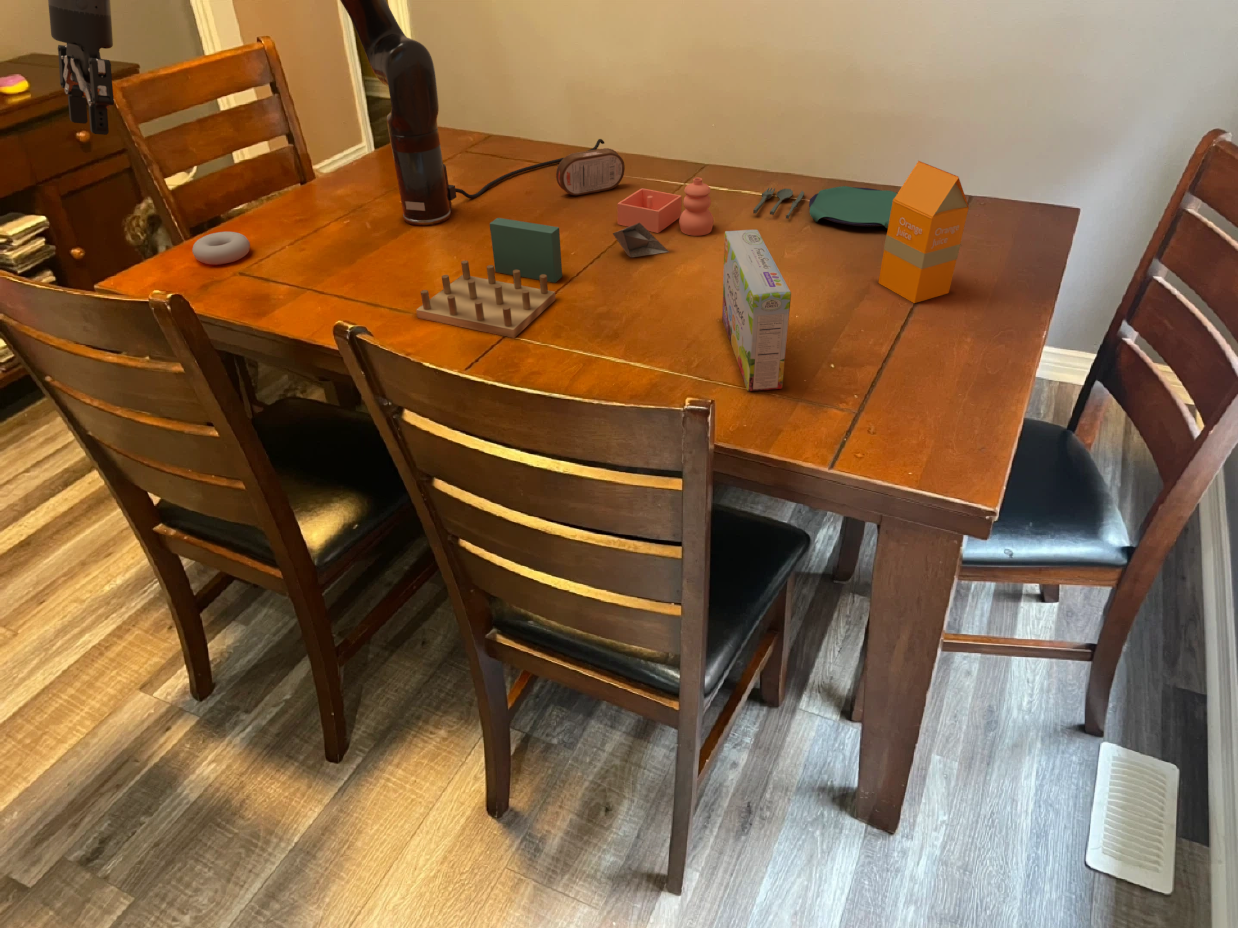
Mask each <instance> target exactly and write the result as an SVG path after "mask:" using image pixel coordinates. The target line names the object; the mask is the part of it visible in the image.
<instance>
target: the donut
mask: <svg viewBox="0 0 1238 928" xmlns="http://www.w3.org/2000/svg"><path fill="white" fill-rule="evenodd" d="M250 248H251V242H250V241H249V239H248V238H247V237H246V236H245V235H244V234H242V233H239V232H235V231H218V232H213V233H210V234H206V235H204V236H202V237H200V238H198V239H197V240H196V241H195V242H194V244H193V245H192V249H191V252H192V254H193V256H194V258H195V259H196V260H197V261H198V262H201V263H202V264H204V265H213V266H214V265H217V266H219V265H226V264H230V263H233V262H236V261H239V260H241V259H242V258H244V257H246V255H248V253H249V252H250V250H251V249H250Z"/></svg>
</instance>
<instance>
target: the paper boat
mask: <svg viewBox="0 0 1238 928" xmlns="http://www.w3.org/2000/svg"><path fill="white" fill-rule="evenodd" d="M612 235H613V236H614V238H615V240H616V241H617V242H618V243H619V245H620V246H621V248H622V249H623V251H624V252H625V254H626V255H627V256H628V257H629V258H639V257H645V256H651V255H658V254H665V253H670V251H669V250H668V249H667V248H666V247H665V246H664V245H663V244H662V242H660V241H659V240H658V239H657V238H656V237H655V236H654V235H653V234H652V232H651V231H648V230H647V229H646V228H645V227H644V226H643V225H642V224H641V223H637V224H635V225H632V226H630V227H627V226H626V227H625V228H622V229H620V230H618V231H615V232H612Z"/></svg>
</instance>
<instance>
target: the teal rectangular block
mask: <svg viewBox="0 0 1238 928" xmlns="http://www.w3.org/2000/svg"><path fill="white" fill-rule="evenodd" d="M489 231H490V238H491V248H492V257H493V266H494V272H495V273H498V274H504V275H508V276H513V270H520V276H521V278H526V279H531V280H536V281H540V277H539V276H540V275H542V274H544V275H547V283H554V284H556V283H557V282H558V281H559V280H561V278H562V277H563V265H562V263H563V262H562V250H561V249H562V248H561V236H560V235H561V234H560V233H561V232H560V227H559V226H553V225H547V224H542V223H541V224H540V223H534V222H529V221H528V222H527V221H522V220H515V219H510V218H509V219H508V218H502V217H497V218H495V219H494V220H492V221H490V222H489Z"/></svg>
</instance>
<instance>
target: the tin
mask: <svg viewBox="0 0 1238 928" xmlns="http://www.w3.org/2000/svg"><path fill="white" fill-rule="evenodd" d="M564 157H565V158H564ZM564 157H562V158H563V159H562V161H561V162H559V163H558V165H557V167H556V173H555V178H556V182H557V185H558V186H559V188H561V189H562V190H563V191H564V192H565V193H567V194H569V195H571V196H583V195H587V194H594V193H599V192H604V191H609V190H613V189H614V188H617V186H619V184H620V183H621V181H622V180H623V178H624V175H625V170H626V169H625V168H626V167H625V166H626V165H625V161H624V159H623V158H622V156H621V155H620V154H618V152H617V151H616V150H614V149H612V148H609V147H604V148H597V149H596V150H591V151H588V150H585V151H579V152H572V153H569V154H567V155H566V156H564Z"/></svg>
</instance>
